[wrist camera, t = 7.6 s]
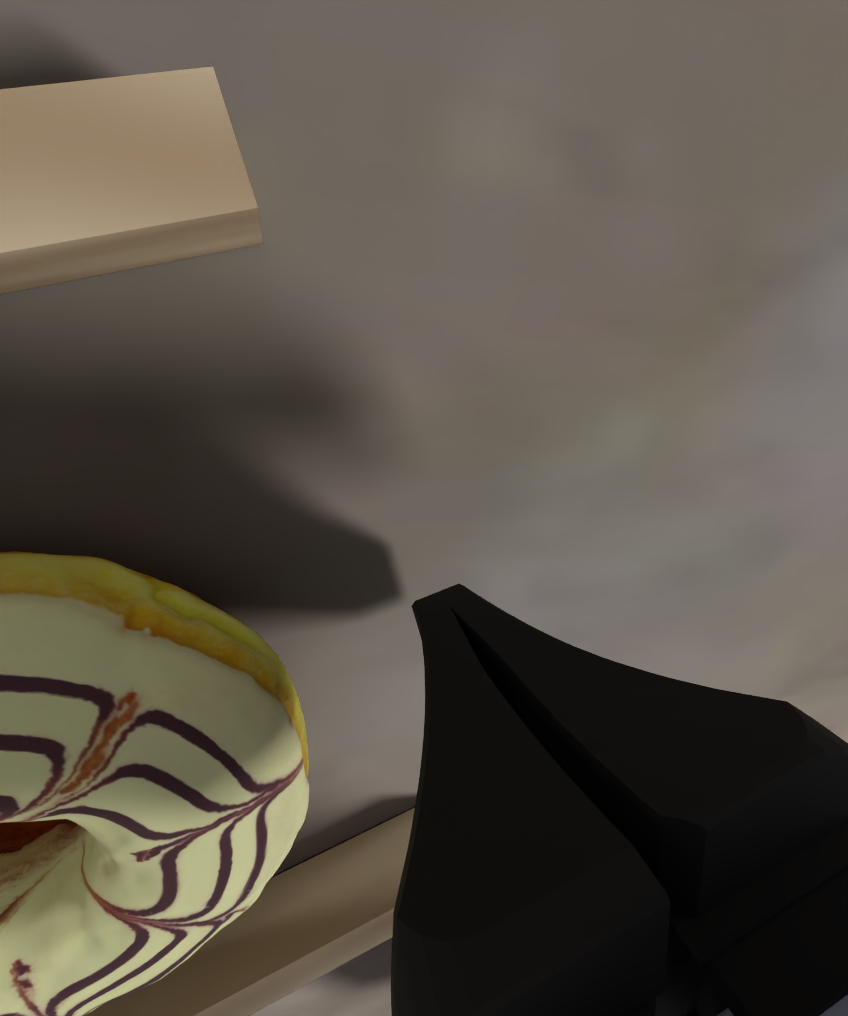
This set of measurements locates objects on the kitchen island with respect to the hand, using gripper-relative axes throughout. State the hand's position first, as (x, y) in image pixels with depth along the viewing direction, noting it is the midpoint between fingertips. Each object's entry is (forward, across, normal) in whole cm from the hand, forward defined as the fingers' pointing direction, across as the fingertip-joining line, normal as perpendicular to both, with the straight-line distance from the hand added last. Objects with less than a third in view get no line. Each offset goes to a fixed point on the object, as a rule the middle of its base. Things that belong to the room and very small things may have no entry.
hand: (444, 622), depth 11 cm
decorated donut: (+2, +10, 0) cm, 10 cm away
